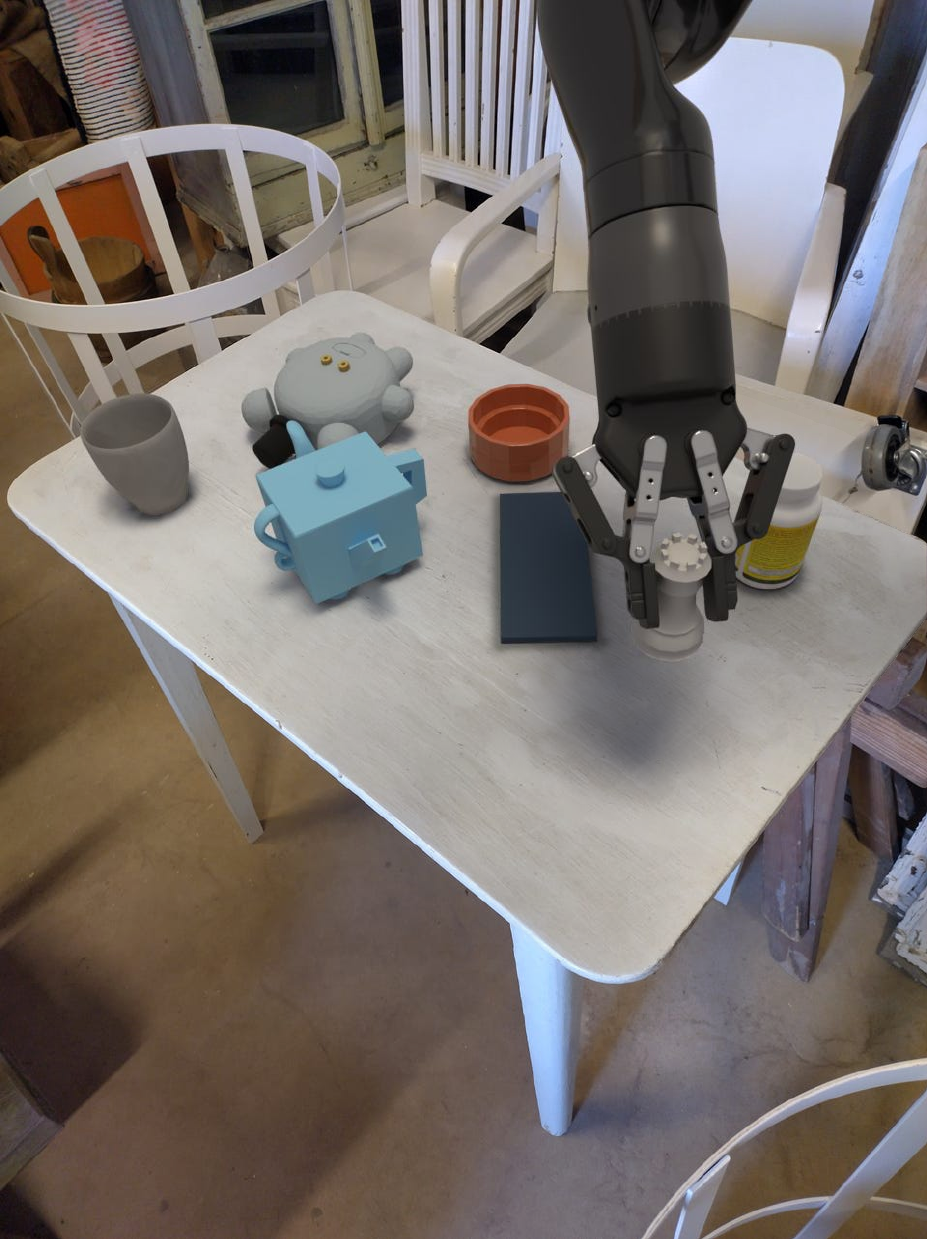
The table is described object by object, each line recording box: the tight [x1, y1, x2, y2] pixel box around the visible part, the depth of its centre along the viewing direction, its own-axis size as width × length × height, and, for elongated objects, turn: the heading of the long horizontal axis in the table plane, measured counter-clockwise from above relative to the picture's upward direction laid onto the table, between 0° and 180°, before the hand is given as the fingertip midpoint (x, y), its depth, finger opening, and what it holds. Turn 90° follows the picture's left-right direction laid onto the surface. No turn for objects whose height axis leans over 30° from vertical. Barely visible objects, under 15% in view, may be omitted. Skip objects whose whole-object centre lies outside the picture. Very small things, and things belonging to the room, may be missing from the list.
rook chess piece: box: [630, 532, 711, 663], centre depth 48 cm, size 4×4×8 cm
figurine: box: [240, 332, 415, 470], centre depth 86 cm, size 17×8×20 cm
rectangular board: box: [499, 491, 598, 644], centre depth 74 cm, size 18×8×1 cm, turn 179°
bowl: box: [467, 383, 571, 483], centre depth 83 cm, size 10×10×5 cm
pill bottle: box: [735, 451, 824, 590], centre depth 68 cm, size 6×6×11 cm
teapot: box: [253, 421, 428, 605], centre depth 72 cm, size 16×18×11 cm
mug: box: [79, 393, 190, 516], centre depth 81 cm, size 12×9×10 cm
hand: (683, 622), depth 47 cm, fingers closed on rook chess piece, 3 cm apart
